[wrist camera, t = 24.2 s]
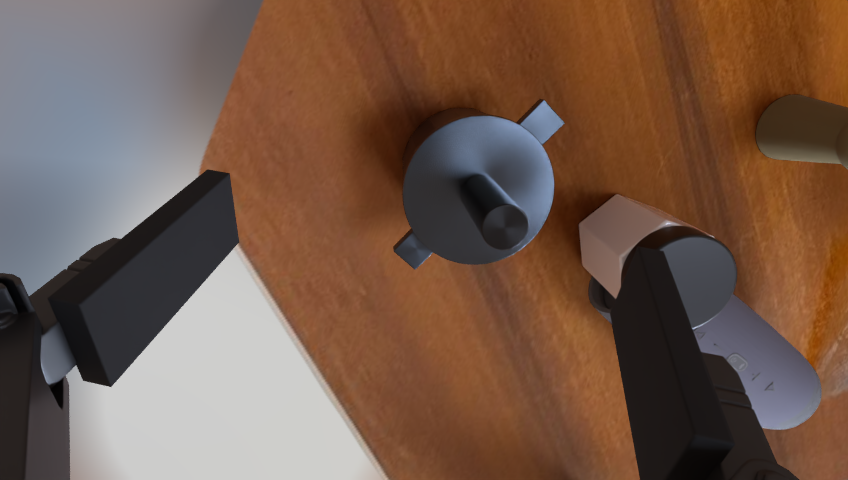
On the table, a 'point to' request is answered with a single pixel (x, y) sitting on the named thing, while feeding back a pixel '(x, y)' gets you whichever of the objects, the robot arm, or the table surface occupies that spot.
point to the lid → (478, 189)
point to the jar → (681, 242)
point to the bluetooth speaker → (751, 360)
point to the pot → (535, 120)
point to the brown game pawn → (804, 131)
